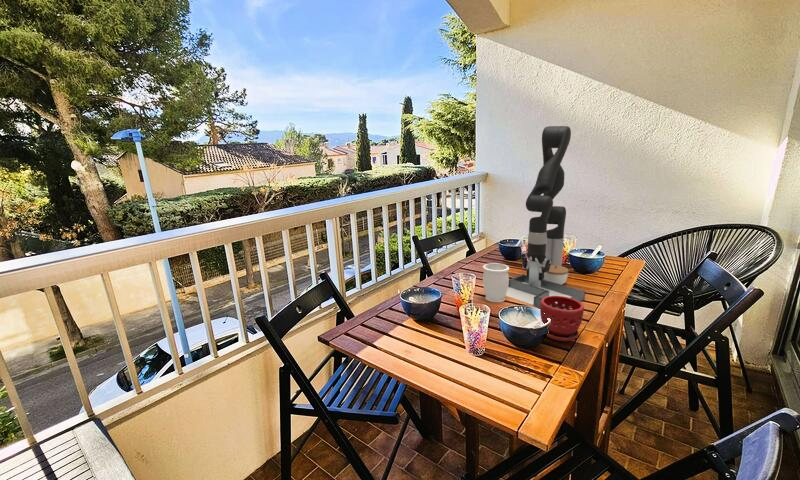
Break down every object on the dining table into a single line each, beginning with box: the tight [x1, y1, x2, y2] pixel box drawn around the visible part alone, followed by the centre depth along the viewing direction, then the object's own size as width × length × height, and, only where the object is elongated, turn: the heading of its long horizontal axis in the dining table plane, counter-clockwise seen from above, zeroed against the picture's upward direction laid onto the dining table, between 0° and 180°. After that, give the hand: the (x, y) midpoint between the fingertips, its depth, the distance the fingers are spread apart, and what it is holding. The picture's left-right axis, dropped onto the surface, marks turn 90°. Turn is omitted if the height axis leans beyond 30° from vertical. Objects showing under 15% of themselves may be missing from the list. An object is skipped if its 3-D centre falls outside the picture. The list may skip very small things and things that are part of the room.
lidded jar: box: [543, 265, 569, 285], centre depth 159 cm, size 11×11×9 cm
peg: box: [529, 261, 542, 288], centre depth 151 cm, size 5×5×12 cm
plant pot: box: [539, 296, 585, 342], centre depth 116 cm, size 13×13×12 cm
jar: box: [482, 262, 510, 303], centre depth 144 cm, size 11×10×15 cm
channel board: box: [505, 282, 584, 308], centre depth 146 cm, size 20×29×1 cm
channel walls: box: [508, 273, 586, 310], centre depth 146 cm, size 20×29×4 cm
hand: (534, 278), depth 151 cm, fingers closed on peg, 5 cm apart
